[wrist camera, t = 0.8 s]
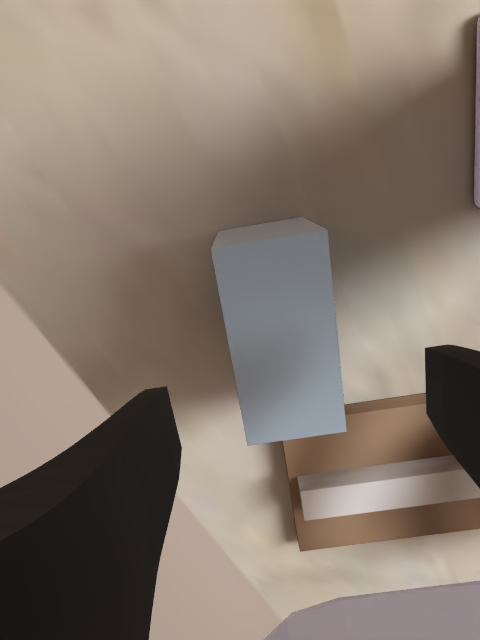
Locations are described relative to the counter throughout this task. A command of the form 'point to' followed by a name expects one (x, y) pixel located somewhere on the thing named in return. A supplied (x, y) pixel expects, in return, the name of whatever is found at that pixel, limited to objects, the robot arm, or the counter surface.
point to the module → (281, 328)
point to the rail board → (378, 479)
